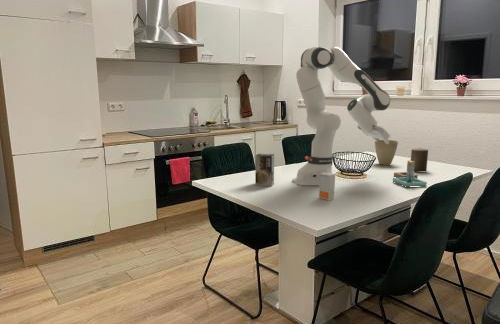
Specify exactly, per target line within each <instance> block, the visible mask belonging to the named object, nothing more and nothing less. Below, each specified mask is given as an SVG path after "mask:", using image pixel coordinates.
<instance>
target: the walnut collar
mask: <svg viewBox="0 0 500 324" xmlns="http://www.w3.org/2000/svg"><path fill="white" fill-rule="evenodd" d="M406 174H407V171H403V172H402V171H400V172H399V171H398V172H396V171H395V172H393V178H394V177H396V178H404V177H406ZM418 177H419V176H418V174H415V173H414V175H413V178H416V179H418Z"/></svg>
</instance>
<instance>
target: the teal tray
mask: <svg viewBox="0 0 500 324" xmlns="http://www.w3.org/2000/svg"><path fill="white" fill-rule="evenodd" d="M393 182H395V183H398V184H400V185H403V186H406V187H410V186H426V187H427V181H424V180H422V179H419V178H417V179H416V178H413V182H411V183H407V182H406V177H404V178H394V177H392V183H393ZM395 183H394V184H395ZM398 184H397V185H398ZM400 185H399V186H400ZM403 186H402V187H403Z"/></svg>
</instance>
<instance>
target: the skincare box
mask: <svg viewBox="0 0 500 324" xmlns="http://www.w3.org/2000/svg"><path fill="white" fill-rule="evenodd" d="M335 182H336V174H335V173H333V172H332V173H326V172H323V173H320V179H319V185H318V198H319V199H322V200H325V201H331V200H334V199H335V186H336V185H335Z"/></svg>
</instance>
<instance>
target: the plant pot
mask: <svg viewBox="0 0 500 324" xmlns="http://www.w3.org/2000/svg"><path fill="white" fill-rule="evenodd" d="M388 141H389V144H386V143H385V141H384V140H381V139H380V140H379V141H376V140H375V139H374V146H375V147H374V148H375V153H376V158H377V161H378V165H380V164H383V165H382V166H391V165H392V163H393V160H394V158H395V155H396V153H397V152H396V151H397V148H398V145H399V141H397V140H394V139H393V140H392V139H388ZM390 164H391V165H390Z"/></svg>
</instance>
